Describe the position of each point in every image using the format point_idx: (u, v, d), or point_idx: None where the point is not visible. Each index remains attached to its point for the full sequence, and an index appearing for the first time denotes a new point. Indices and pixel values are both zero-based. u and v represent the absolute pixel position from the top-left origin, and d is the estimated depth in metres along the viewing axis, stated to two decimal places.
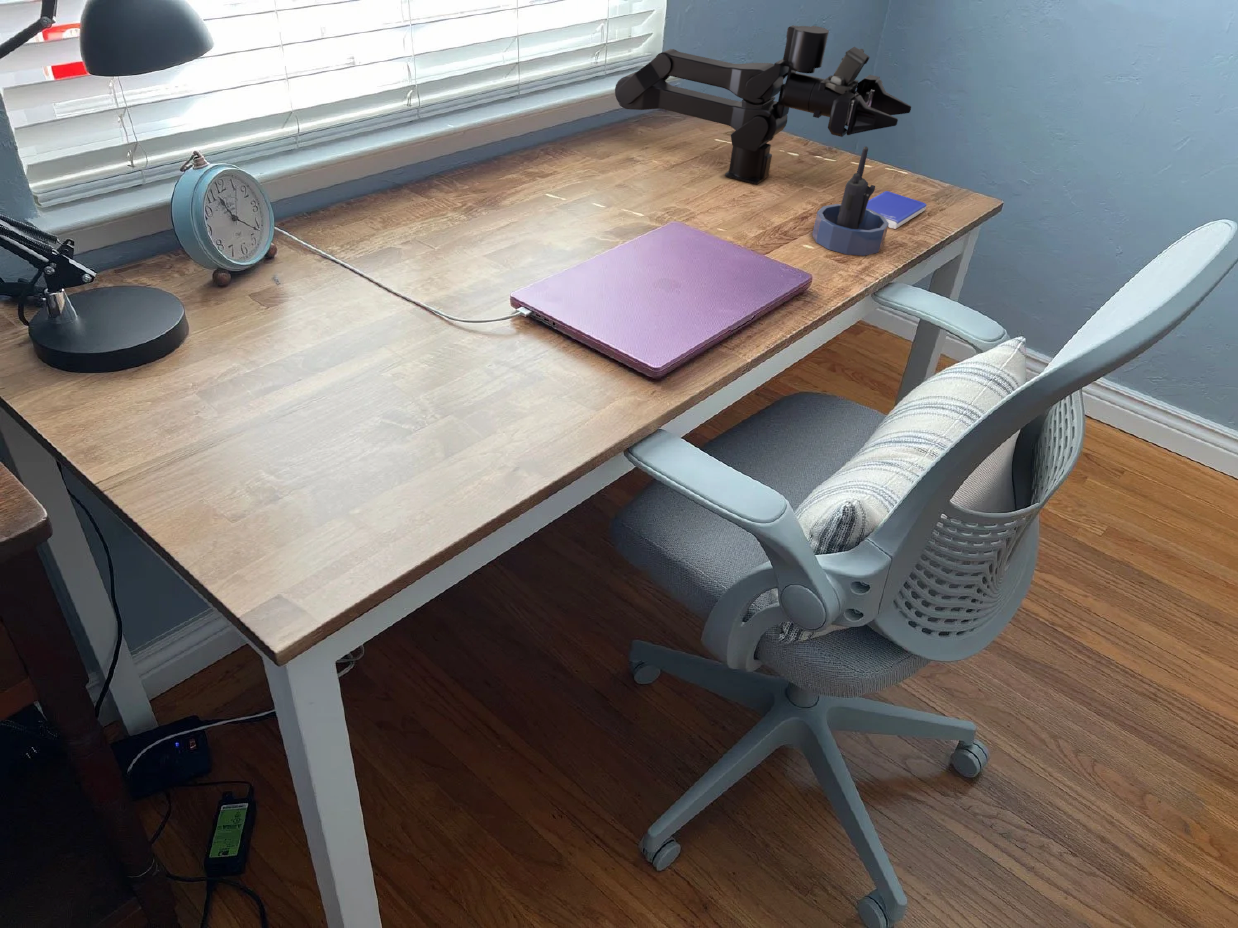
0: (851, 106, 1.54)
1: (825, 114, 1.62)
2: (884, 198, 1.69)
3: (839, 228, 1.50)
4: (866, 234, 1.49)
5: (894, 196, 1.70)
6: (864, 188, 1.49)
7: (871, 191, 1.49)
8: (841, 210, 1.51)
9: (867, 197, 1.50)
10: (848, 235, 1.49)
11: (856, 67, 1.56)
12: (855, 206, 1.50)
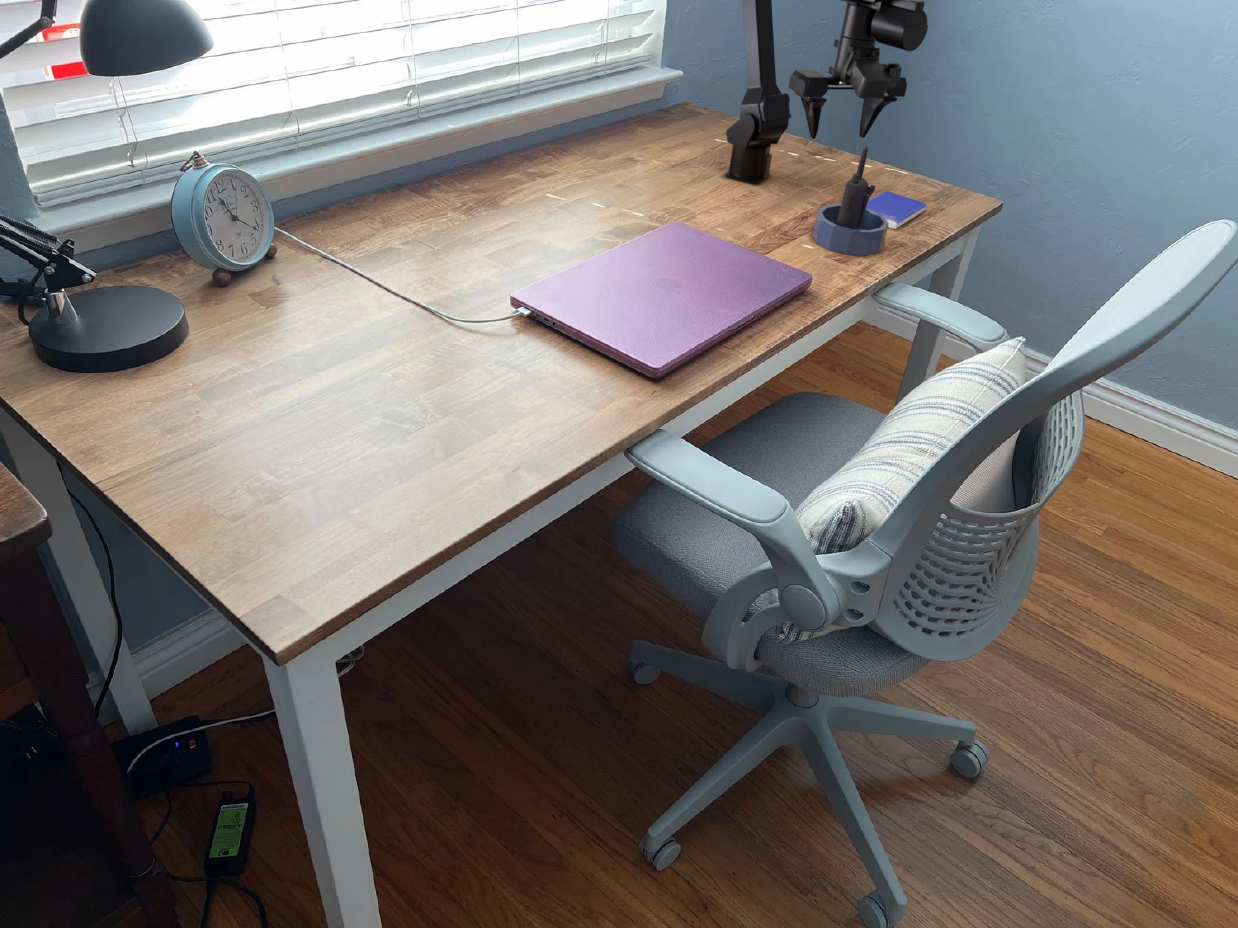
0: None
1: None
2: (884, 198, 1.69)
3: (839, 228, 1.50)
4: (866, 234, 1.49)
5: (894, 196, 1.70)
6: (864, 188, 1.49)
7: (871, 191, 1.49)
8: (841, 210, 1.51)
9: (867, 197, 1.50)
10: (848, 235, 1.49)
11: (856, 91, 1.46)
12: (855, 206, 1.50)
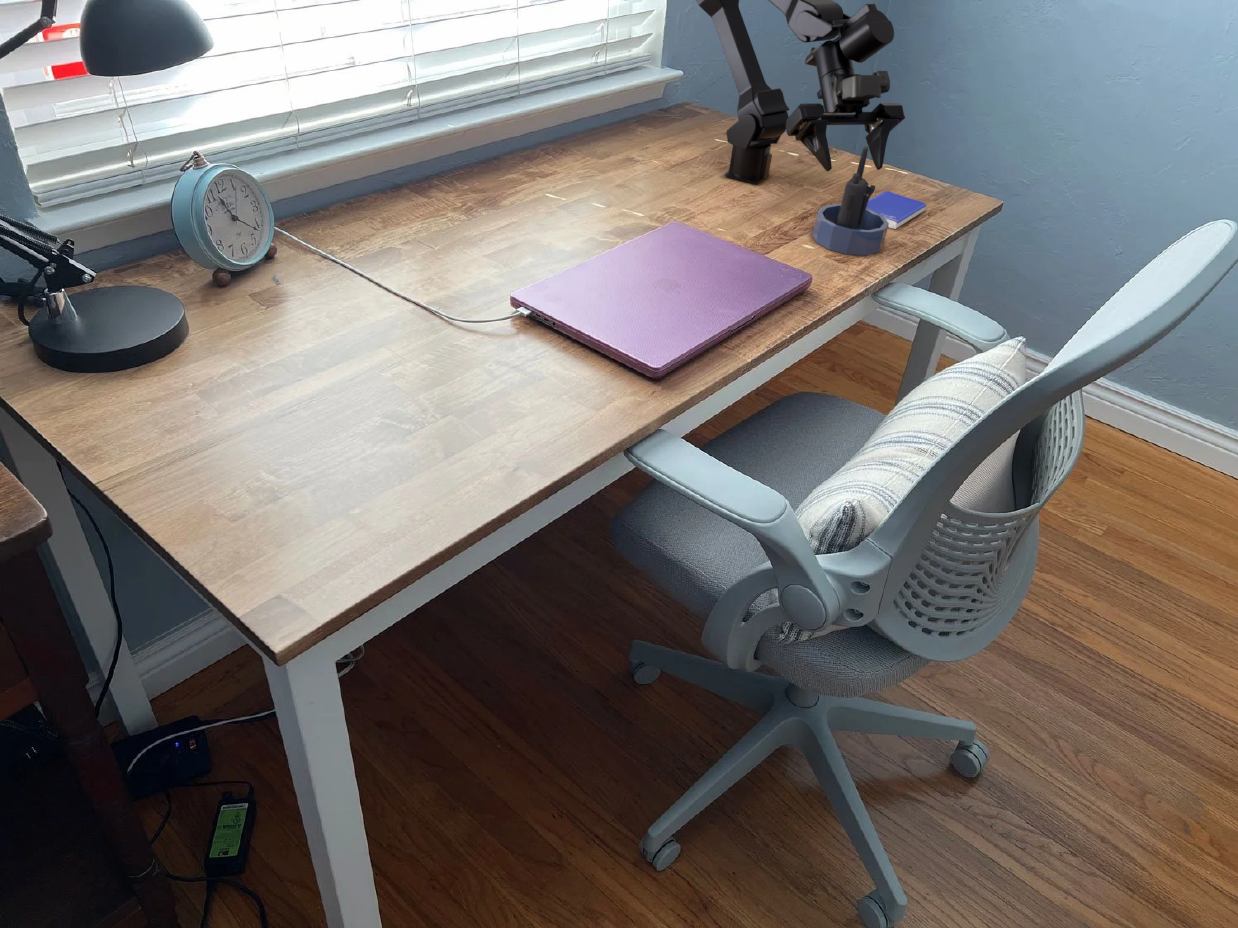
0: (807, 122, 1.48)
1: None
2: (884, 198, 1.69)
3: (839, 228, 1.50)
4: (866, 234, 1.49)
5: (894, 196, 1.70)
6: (864, 188, 1.49)
7: (871, 191, 1.49)
8: (841, 210, 1.51)
9: (867, 197, 1.50)
10: (848, 235, 1.49)
11: (851, 95, 1.46)
12: (855, 206, 1.50)
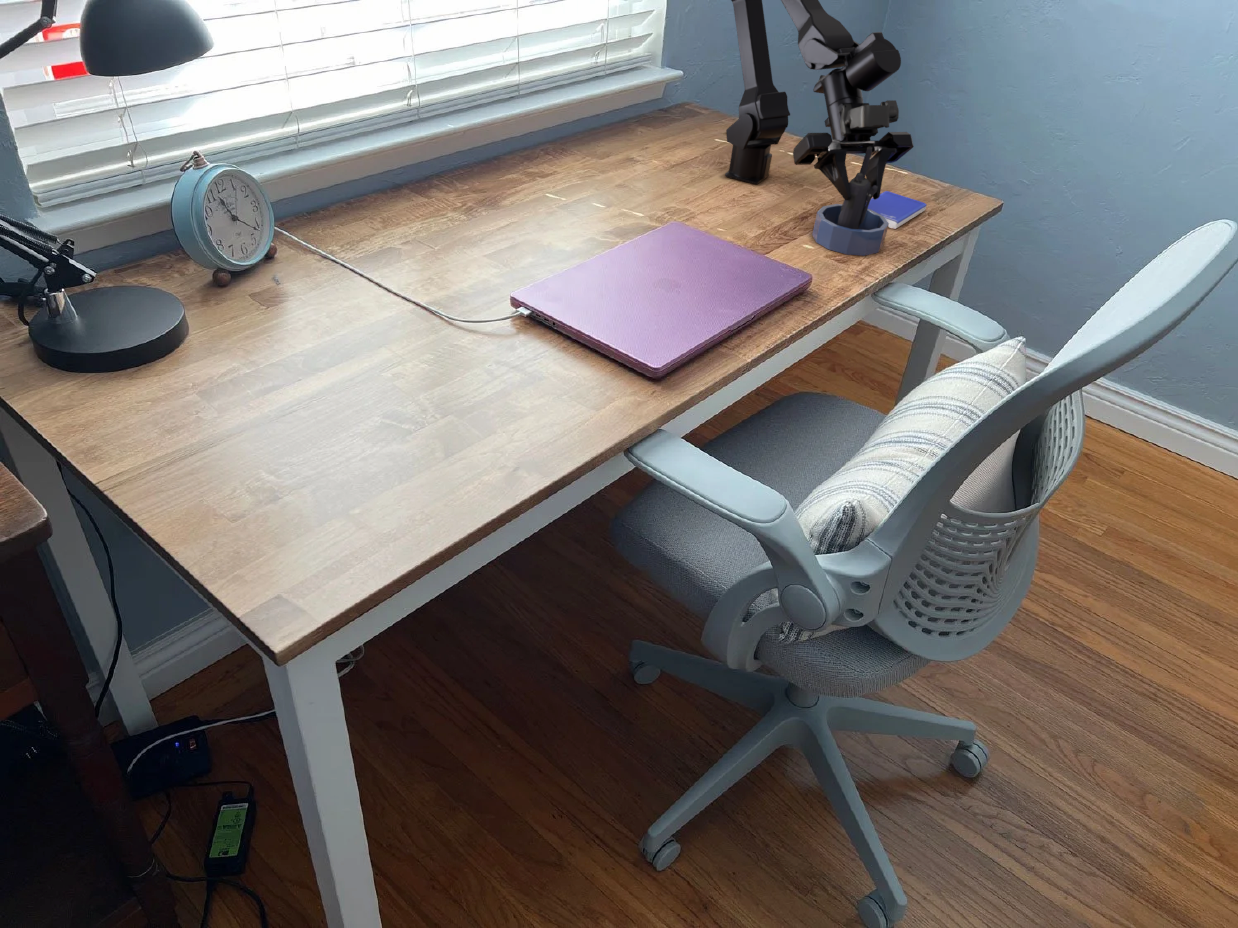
0: (827, 151, 1.48)
1: None
2: (884, 198, 1.69)
3: (839, 228, 1.50)
4: (866, 234, 1.49)
5: (894, 196, 1.70)
6: (867, 188, 1.49)
7: (873, 191, 1.49)
8: (843, 209, 1.51)
9: (869, 197, 1.50)
10: (848, 235, 1.49)
11: (859, 125, 1.44)
12: (857, 205, 1.50)
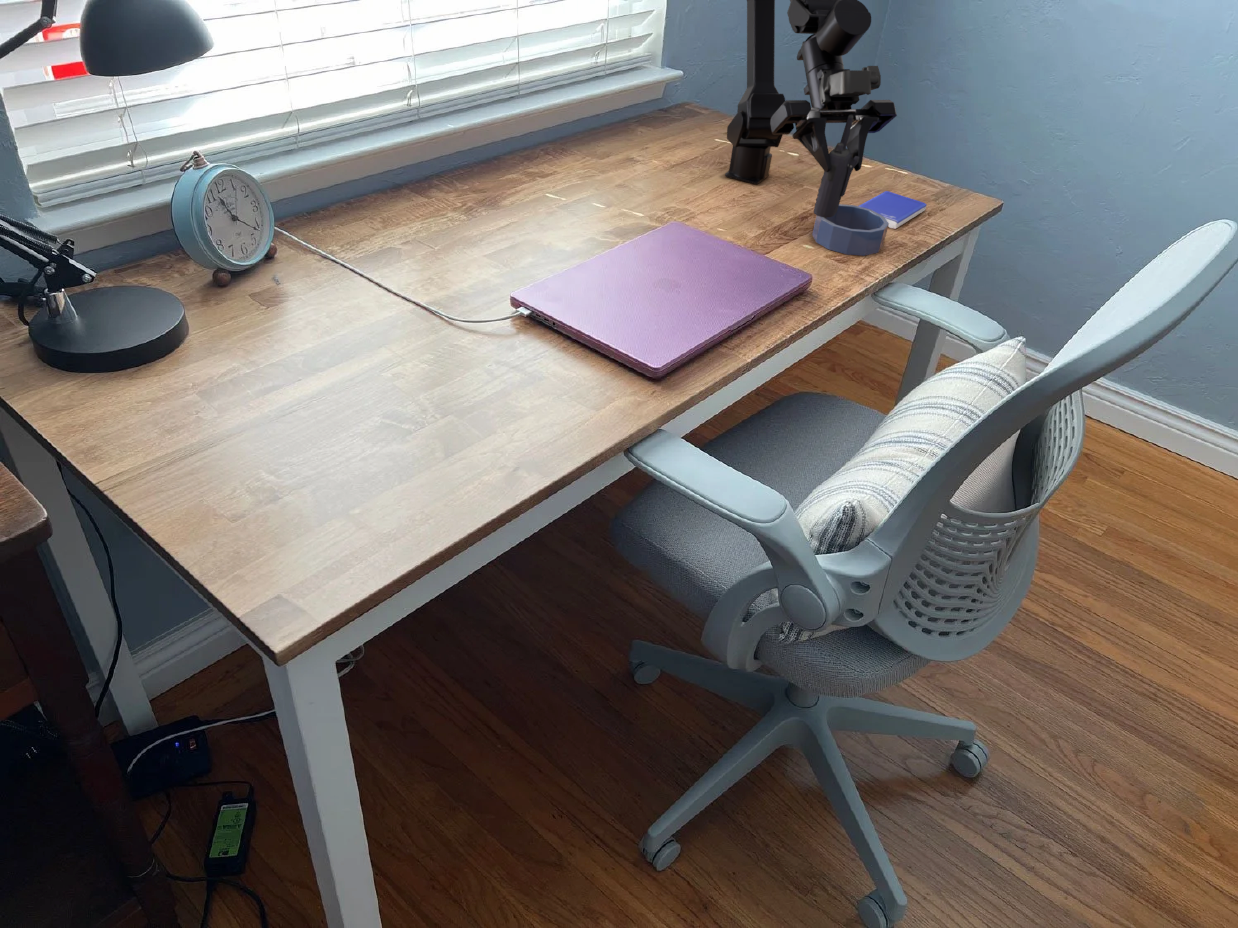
0: (805, 120, 1.40)
1: None
2: (884, 198, 1.69)
3: (839, 228, 1.50)
4: (866, 234, 1.49)
5: (894, 196, 1.70)
6: (848, 159, 1.42)
7: (855, 162, 1.42)
8: (823, 181, 1.44)
9: (850, 168, 1.43)
10: (848, 235, 1.49)
11: (839, 91, 1.37)
12: (837, 177, 1.43)
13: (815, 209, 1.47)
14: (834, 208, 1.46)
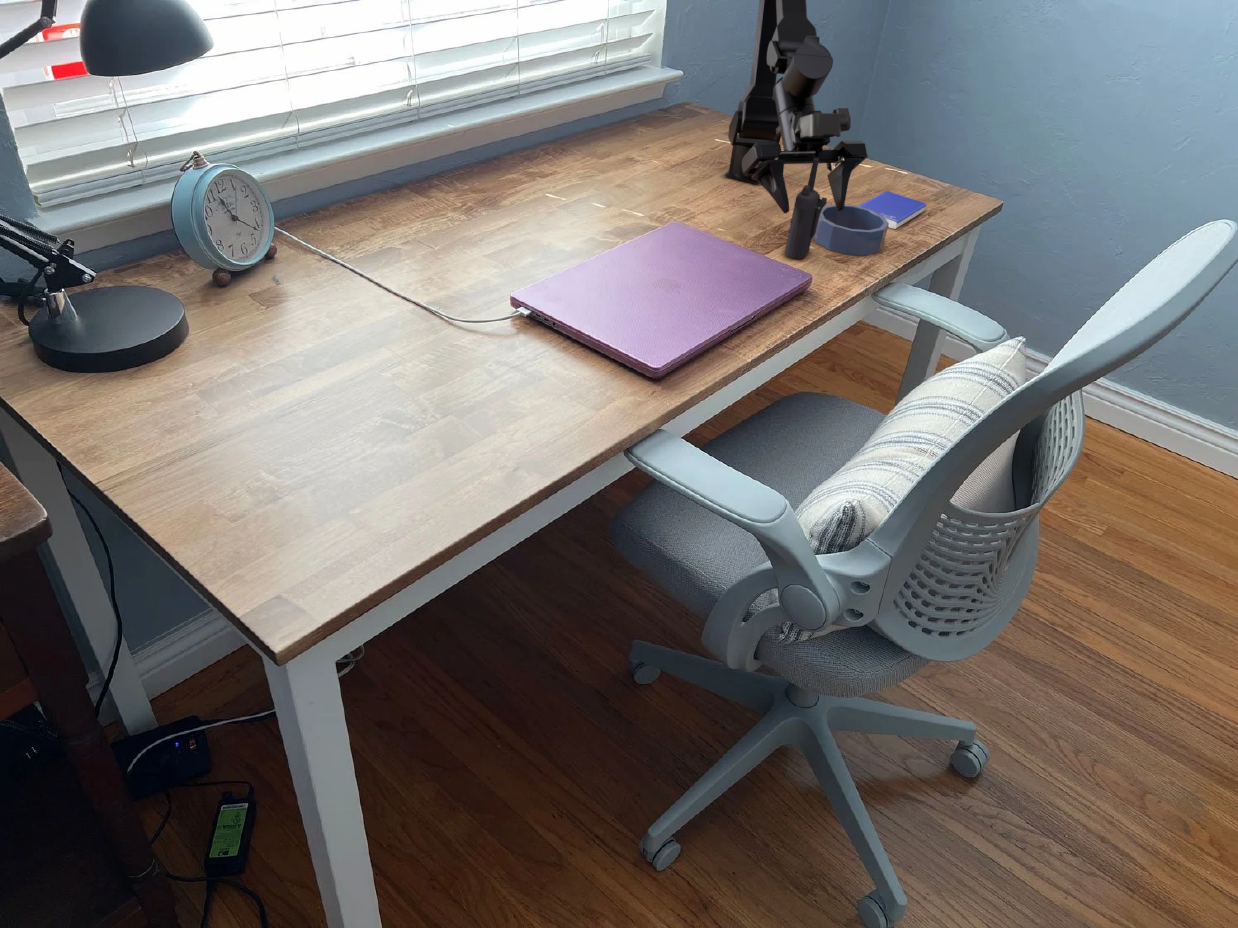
0: (763, 162, 1.40)
1: None
2: (884, 198, 1.69)
3: (839, 228, 1.50)
4: (866, 234, 1.49)
5: (894, 196, 1.70)
6: (815, 201, 1.43)
7: (822, 204, 1.43)
8: (792, 223, 1.45)
9: (818, 210, 1.44)
10: (848, 235, 1.49)
11: (809, 134, 1.38)
12: (806, 219, 1.44)
13: (786, 250, 1.48)
14: (805, 249, 1.47)
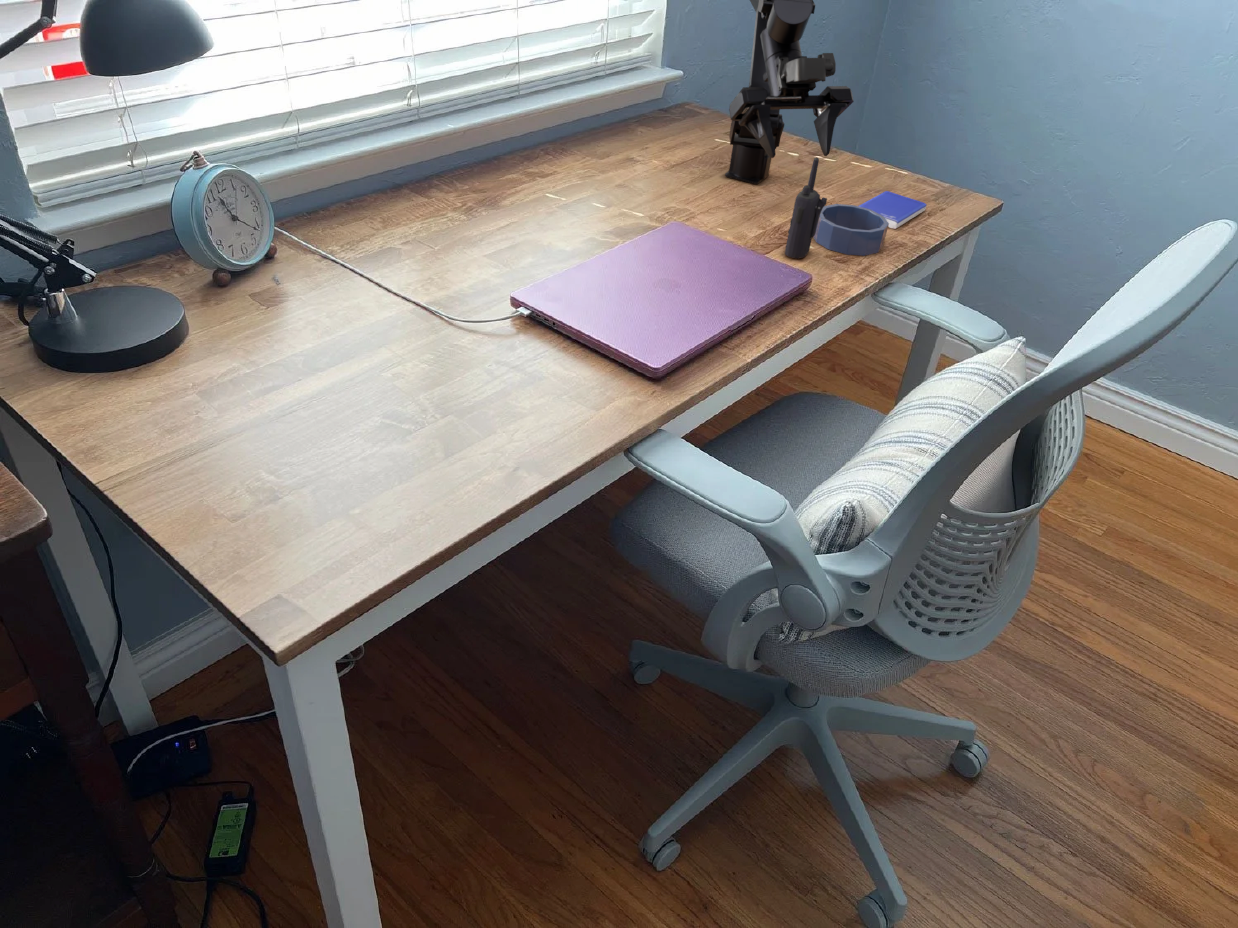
0: (750, 107, 1.43)
1: None
2: (884, 198, 1.69)
3: (839, 228, 1.50)
4: (866, 234, 1.49)
5: (894, 196, 1.70)
6: (815, 201, 1.43)
7: (822, 204, 1.43)
8: (792, 223, 1.45)
9: (818, 210, 1.44)
10: (848, 235, 1.49)
11: (794, 79, 1.40)
12: (806, 219, 1.44)
13: (786, 250, 1.48)
14: (805, 249, 1.47)
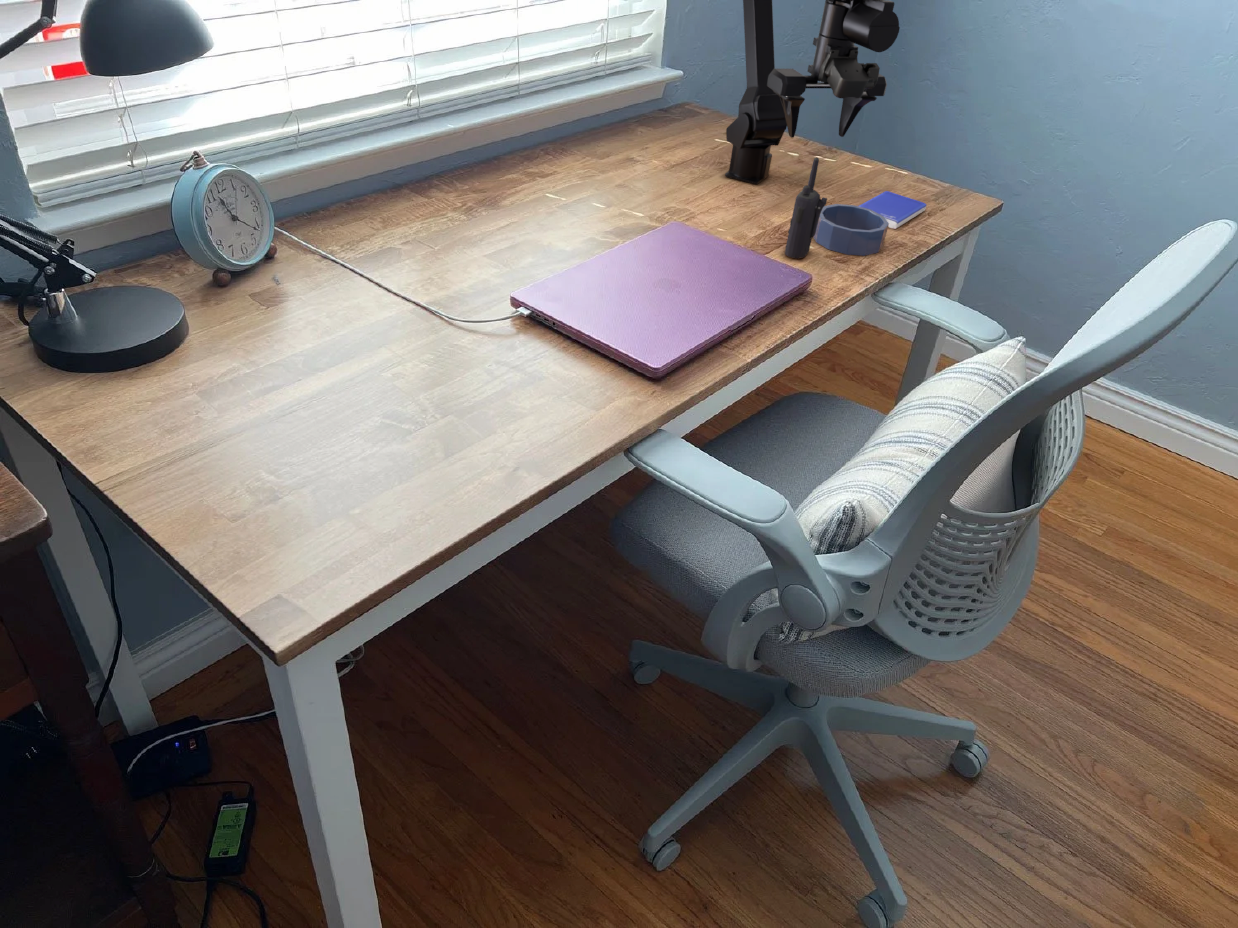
0: None
1: None
2: (884, 198, 1.69)
3: (839, 228, 1.50)
4: (866, 234, 1.49)
5: (894, 196, 1.70)
6: (815, 201, 1.43)
7: (822, 204, 1.43)
8: (792, 223, 1.45)
9: (818, 210, 1.44)
10: (848, 235, 1.49)
11: (833, 90, 1.46)
12: (806, 219, 1.44)
13: (786, 250, 1.48)
14: (805, 249, 1.47)
